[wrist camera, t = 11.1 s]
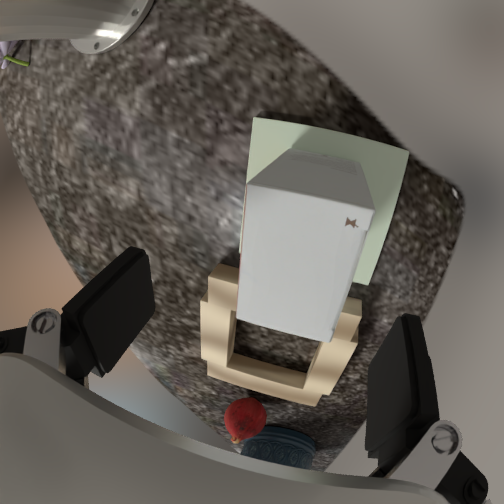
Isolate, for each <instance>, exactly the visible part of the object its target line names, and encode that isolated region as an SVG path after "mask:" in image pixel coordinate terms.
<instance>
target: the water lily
mask: <svg viewBox="0 0 504 504" xmlns="http://www.w3.org/2000/svg"><path fill="white" fill-rule="evenodd" d="M18 41H19V40H13V41H3V42H0V65H1V63H2V62H3V61H4V62H3V65H2V67H1V68H2V69H4V68H6V67H7V66H8V65H9V63H10V61H12V62H15V63H17V64H21V65H24V66H29V63H30V62H25V61H22V60H18V59H15V58H13V57H11V55H8V54H9V53H10V51H11V50H12V49H13V47H14V46H15V45H16V43H17V42H18Z"/></svg>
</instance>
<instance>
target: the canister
mask: <svg viewBox="0 0 504 504" xmlns="http://www.w3.org/2000/svg"><path fill="white" fill-rule="evenodd" d="M315 446H316V445H315V442H314V441H313V440H312V439H311V438H310V437H308V436H307V435H305V434H303V433H300V432H297V431H294V430H291V429H287V428H281V427H273V426H264V428H263V429H262V430H261V432H259V433H258V434H257V435H255V436H253V437H251V438H247V439H245V440H244V446H243V448H242V451H241V453H240V455H243V456H247V457H250V458H254V459H258V460H262V461H266V462H271V463H275V464H280V465H284V466H289V467H295V468H300V469H306V470H311V466H312V461H313V459H314V457H315V453H316V449H315Z"/></svg>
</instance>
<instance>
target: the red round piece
mask: <svg viewBox="0 0 504 504" xmlns="http://www.w3.org/2000/svg"><path fill="white" fill-rule="evenodd" d="M266 417H267V415H266V411H265V409H264V407H263V405H262V404H261V403H260V402H259V401H258V400H257V399H255V398H254V397H249V398H242V399H239V400H236V401H234V402H232V403H231V404H230V405H229V407H228V408H227V410H226V412H225V416H224V421H225V426H226V428H227V430H228V432H229V433H230V434H231V435H232V438H231V441H232V442H233V443H239V442H240V441H241V440H243V439H247V438H251V437H253V436H255V435H257V434H258V433H259V432H261V430H262V429H263V428H264V426H265V423H266Z"/></svg>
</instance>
